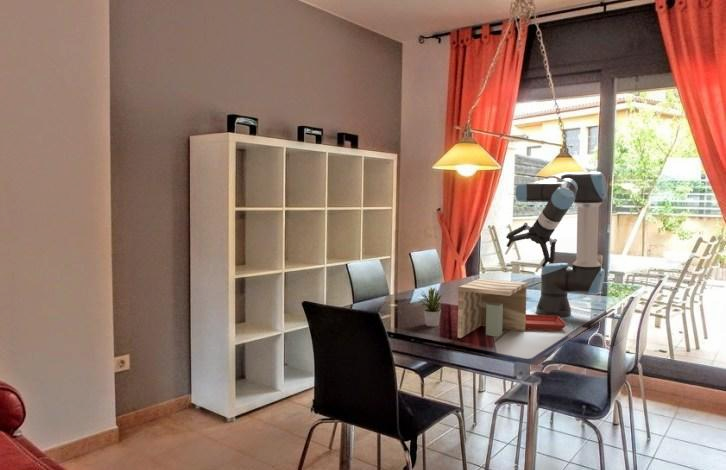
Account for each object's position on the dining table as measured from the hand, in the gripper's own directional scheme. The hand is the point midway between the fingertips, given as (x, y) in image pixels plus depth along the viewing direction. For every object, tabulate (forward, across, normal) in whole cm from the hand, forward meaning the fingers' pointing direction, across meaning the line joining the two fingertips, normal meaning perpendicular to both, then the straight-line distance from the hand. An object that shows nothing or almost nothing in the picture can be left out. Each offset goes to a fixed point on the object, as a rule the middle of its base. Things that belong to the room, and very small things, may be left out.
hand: (521, 261), depth 216 cm
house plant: (+34, -18, -25) cm, 46 cm away
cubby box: (+19, +5, -25) cm, 32 cm away
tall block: (+19, +5, -25) cm, 32 cm away
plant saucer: (+23, +20, -3) cm, 31 cm away
